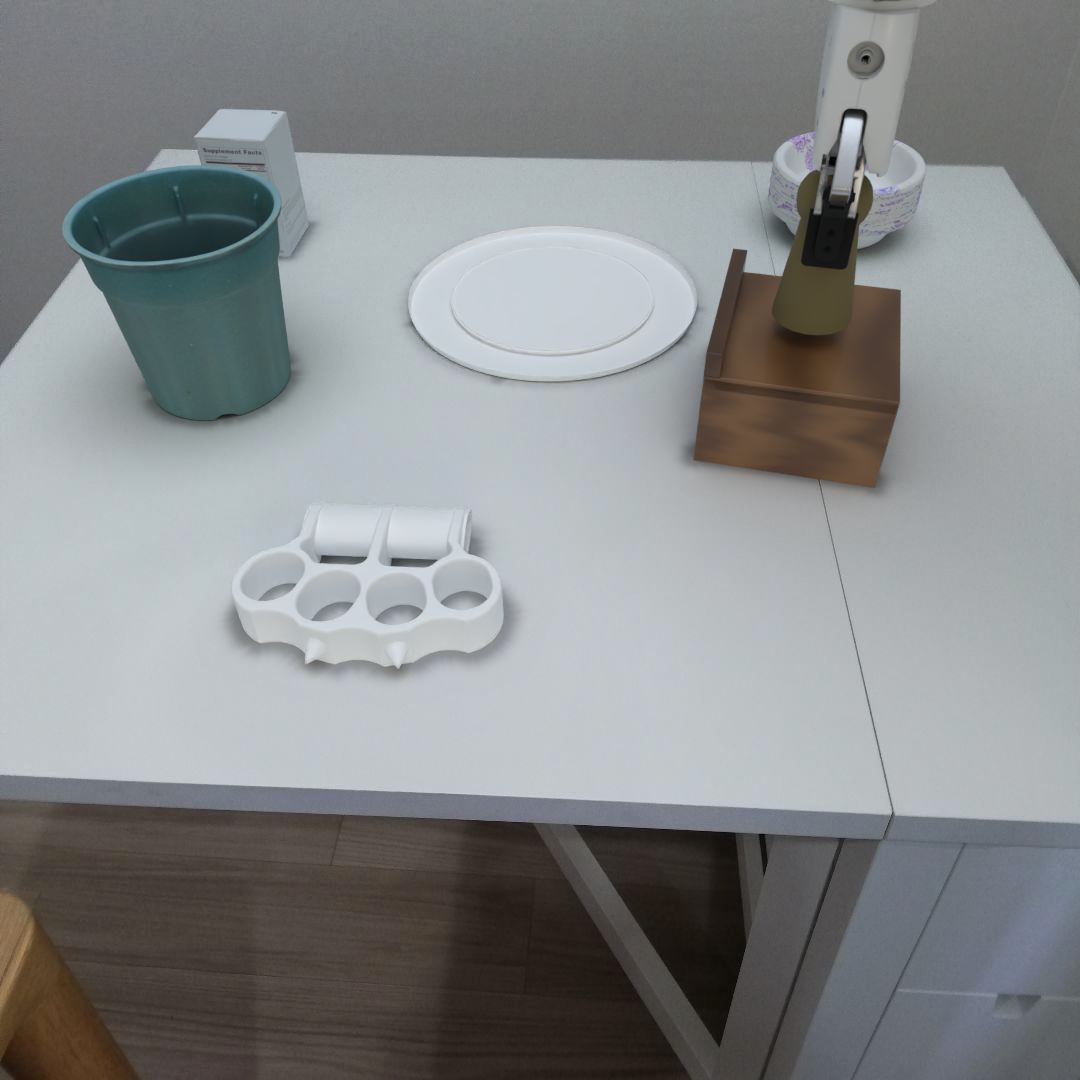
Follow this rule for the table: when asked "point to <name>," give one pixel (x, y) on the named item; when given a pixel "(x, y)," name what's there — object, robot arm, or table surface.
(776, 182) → the paper bowls
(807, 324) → the olive pawn figure
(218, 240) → the flower pot
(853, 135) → the robot arm
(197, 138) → the white packaging box
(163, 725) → the table surface
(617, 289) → the plate
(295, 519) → the table surface
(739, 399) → the brown wooden box
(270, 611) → the knuckle duster
